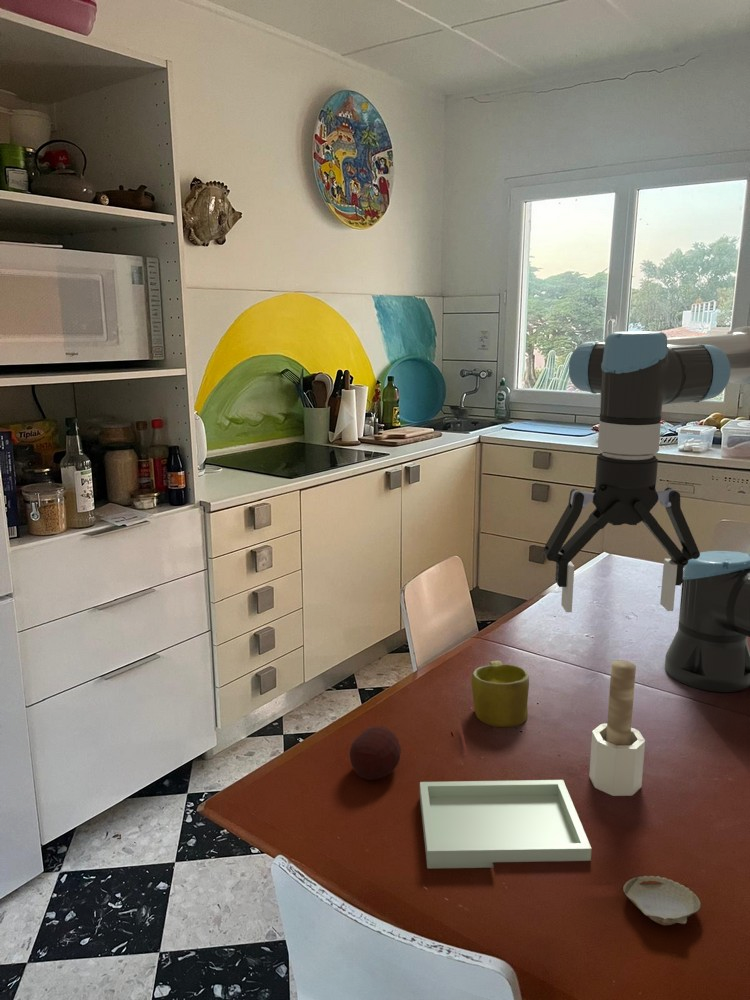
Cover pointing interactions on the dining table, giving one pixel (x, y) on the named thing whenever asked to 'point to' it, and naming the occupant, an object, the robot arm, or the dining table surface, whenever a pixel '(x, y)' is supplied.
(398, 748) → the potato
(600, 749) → the crock
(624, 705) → the dowel
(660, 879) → the seashell
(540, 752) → the dining table surface
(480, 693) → the mug
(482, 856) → the tray
